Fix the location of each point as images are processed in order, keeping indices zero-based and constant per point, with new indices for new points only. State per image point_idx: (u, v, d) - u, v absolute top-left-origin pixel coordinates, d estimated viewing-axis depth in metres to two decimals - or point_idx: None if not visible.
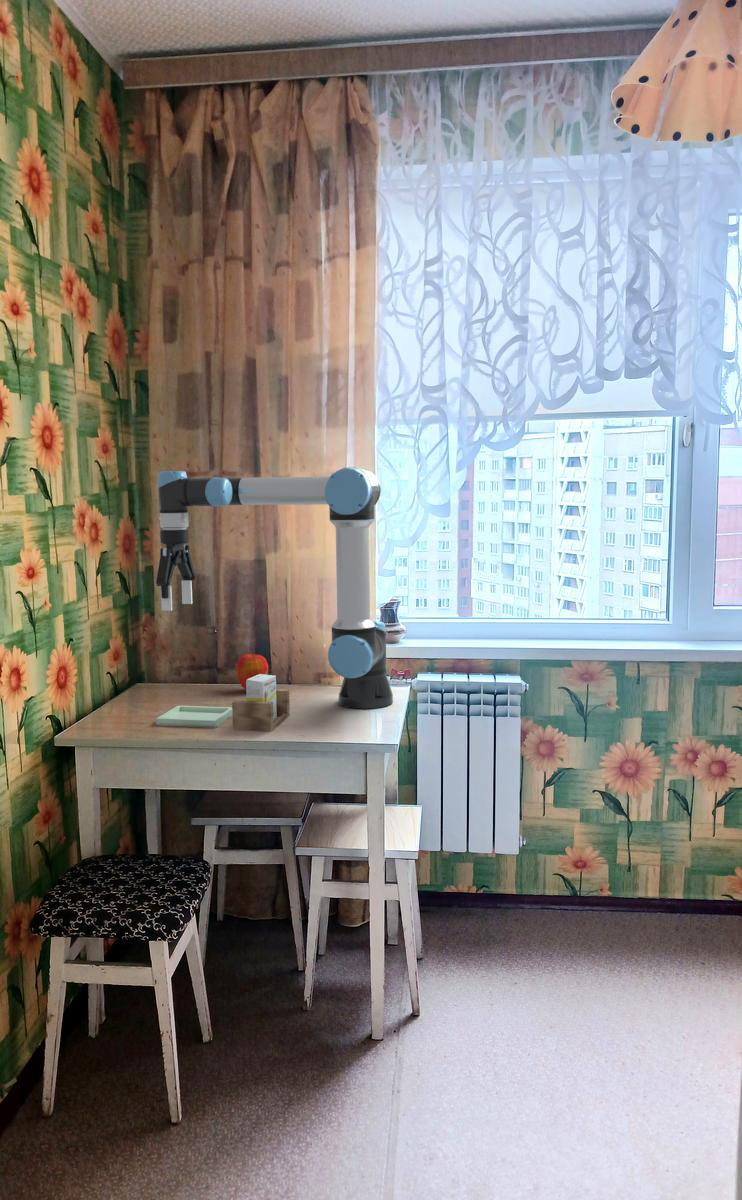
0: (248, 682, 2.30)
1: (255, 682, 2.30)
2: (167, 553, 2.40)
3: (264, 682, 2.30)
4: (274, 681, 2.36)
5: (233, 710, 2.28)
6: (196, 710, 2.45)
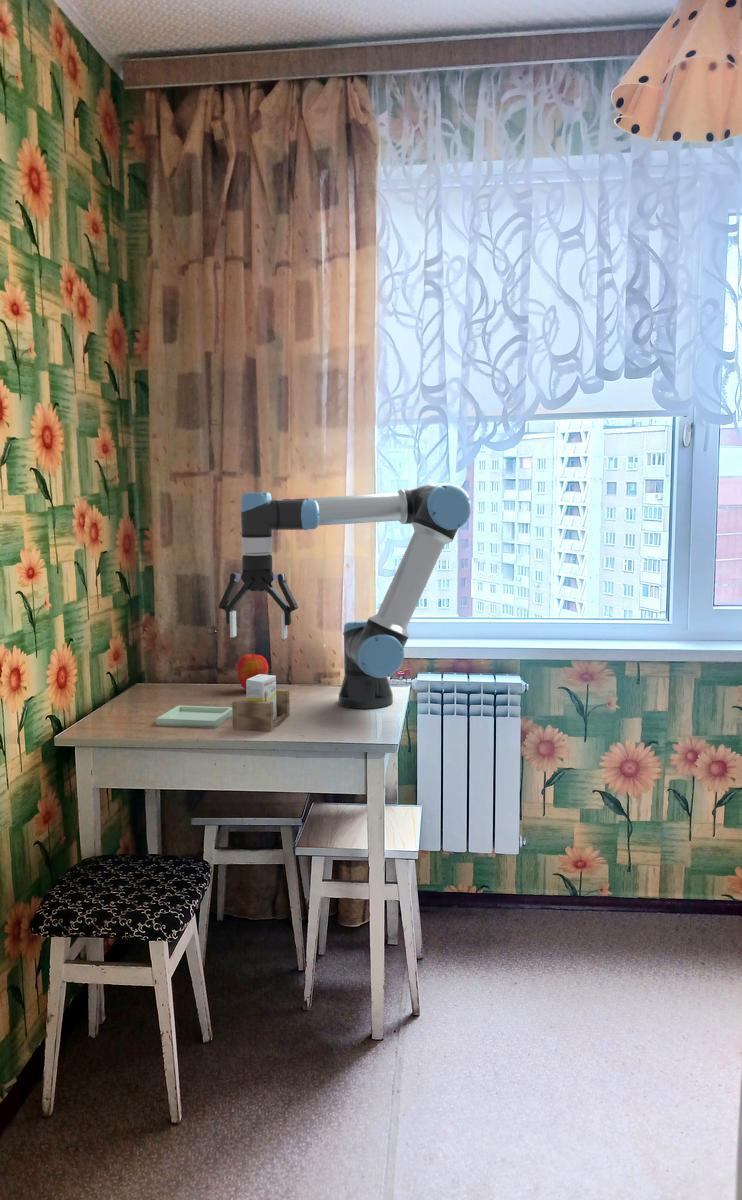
0: (248, 682, 2.30)
1: (255, 682, 2.30)
2: None
3: (264, 682, 2.30)
4: (274, 681, 2.36)
5: (233, 710, 2.28)
6: (196, 710, 2.45)
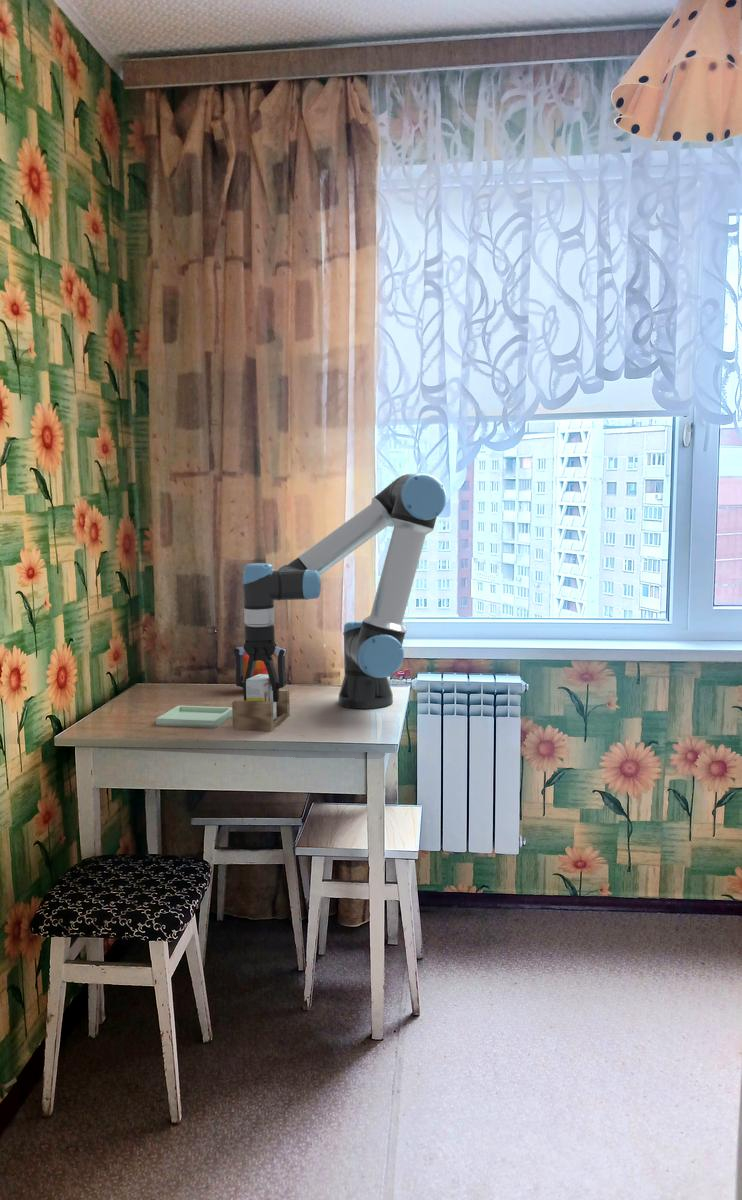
0: (248, 682, 2.30)
1: (255, 682, 2.30)
2: None
3: (264, 682, 2.30)
4: None
5: (233, 710, 2.28)
6: (196, 710, 2.45)
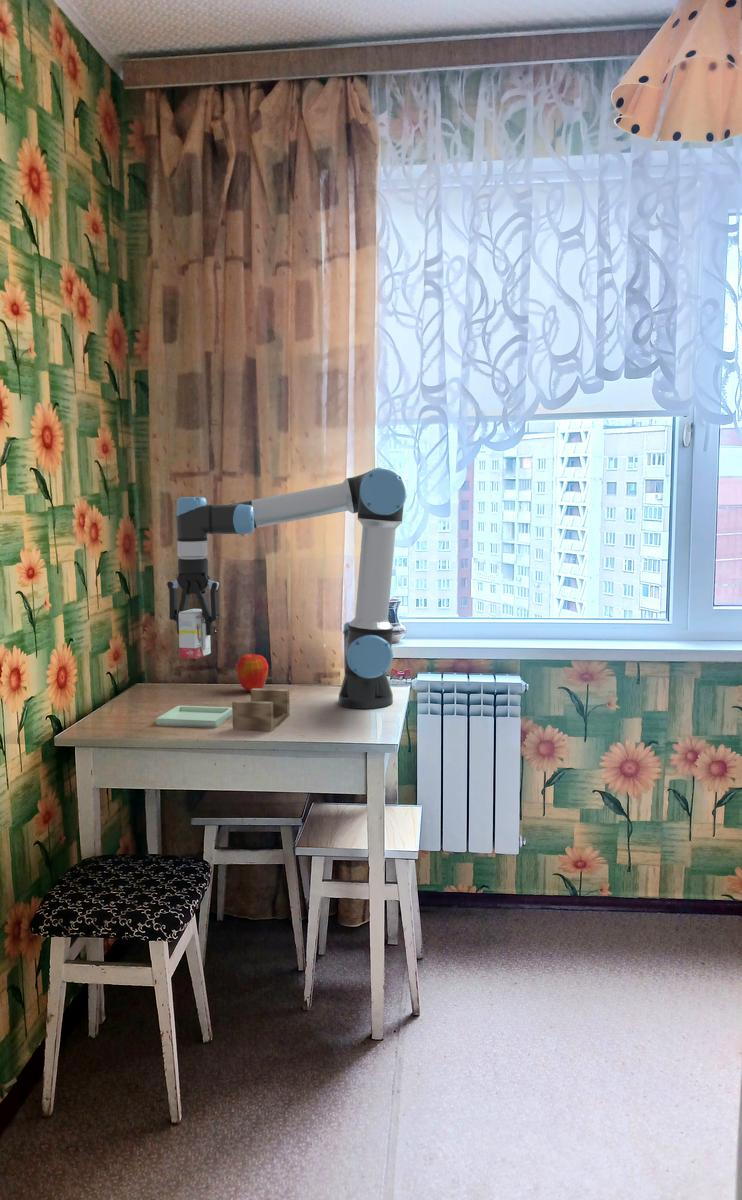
0: (180, 614, 2.32)
1: (187, 614, 2.31)
2: None
3: (196, 614, 2.32)
4: None
5: (233, 710, 2.28)
6: (196, 710, 2.45)
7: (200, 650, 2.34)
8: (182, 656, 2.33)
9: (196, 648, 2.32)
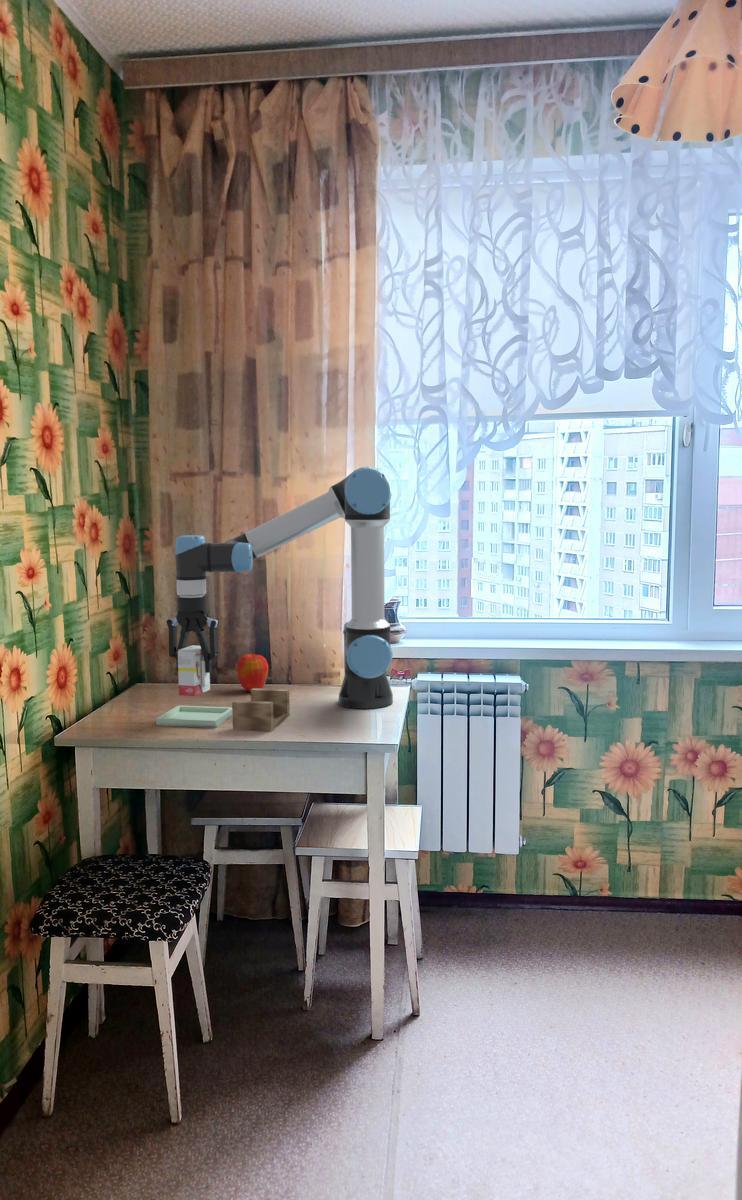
0: (179, 652, 2.33)
1: (186, 652, 2.33)
2: None
3: (195, 652, 2.33)
4: None
5: (233, 710, 2.28)
6: (196, 710, 2.45)
7: (199, 687, 2.35)
8: (181, 693, 2.34)
9: (195, 686, 2.33)
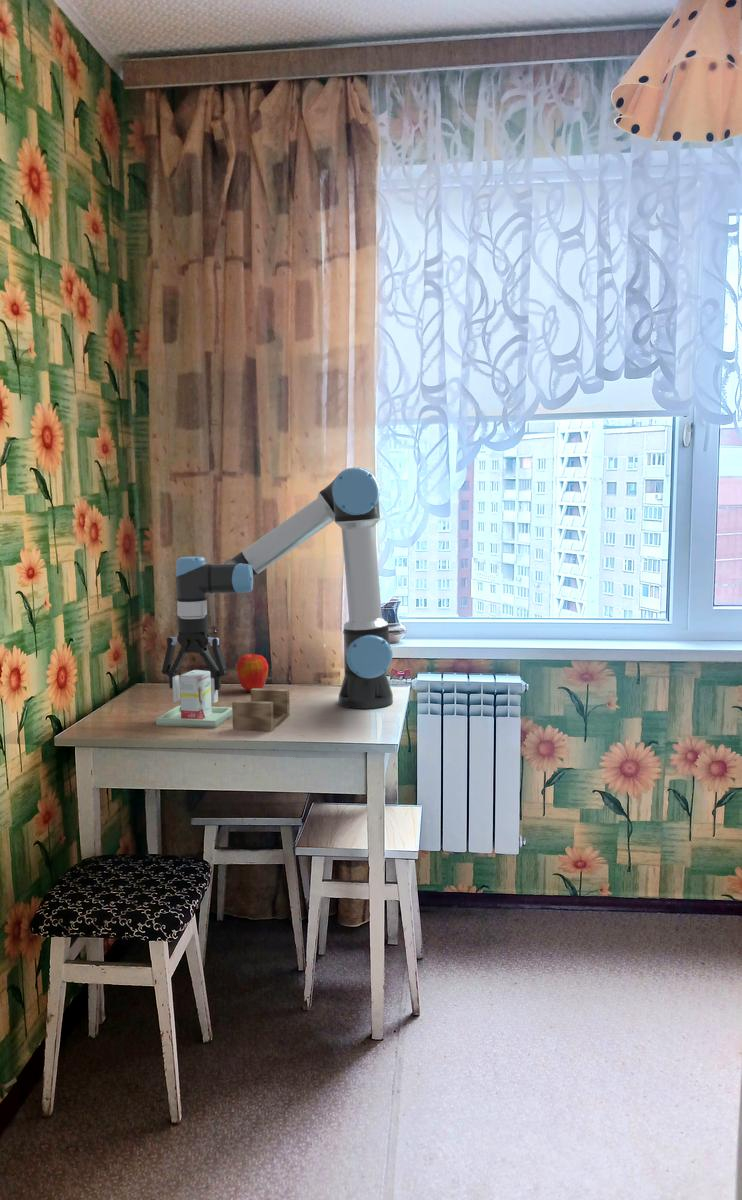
0: (182, 678, 2.34)
1: (189, 677, 2.33)
2: None
3: (198, 677, 2.34)
4: (208, 676, 2.39)
5: (233, 710, 2.28)
6: None
7: (202, 712, 2.36)
8: None
9: (198, 711, 2.34)
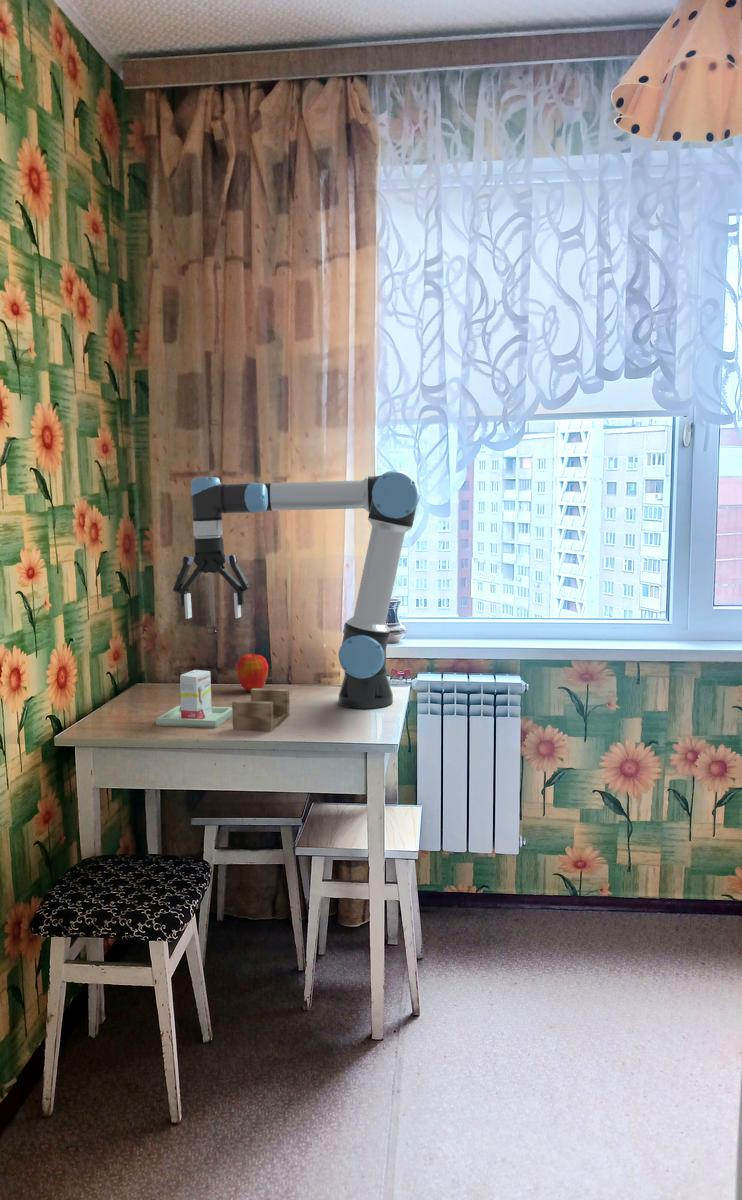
0: (182, 678, 2.34)
1: (189, 677, 2.33)
2: None
3: (198, 677, 2.34)
4: (208, 676, 2.39)
5: (233, 710, 2.28)
6: None
7: (202, 712, 2.36)
8: None
9: (198, 711, 2.34)
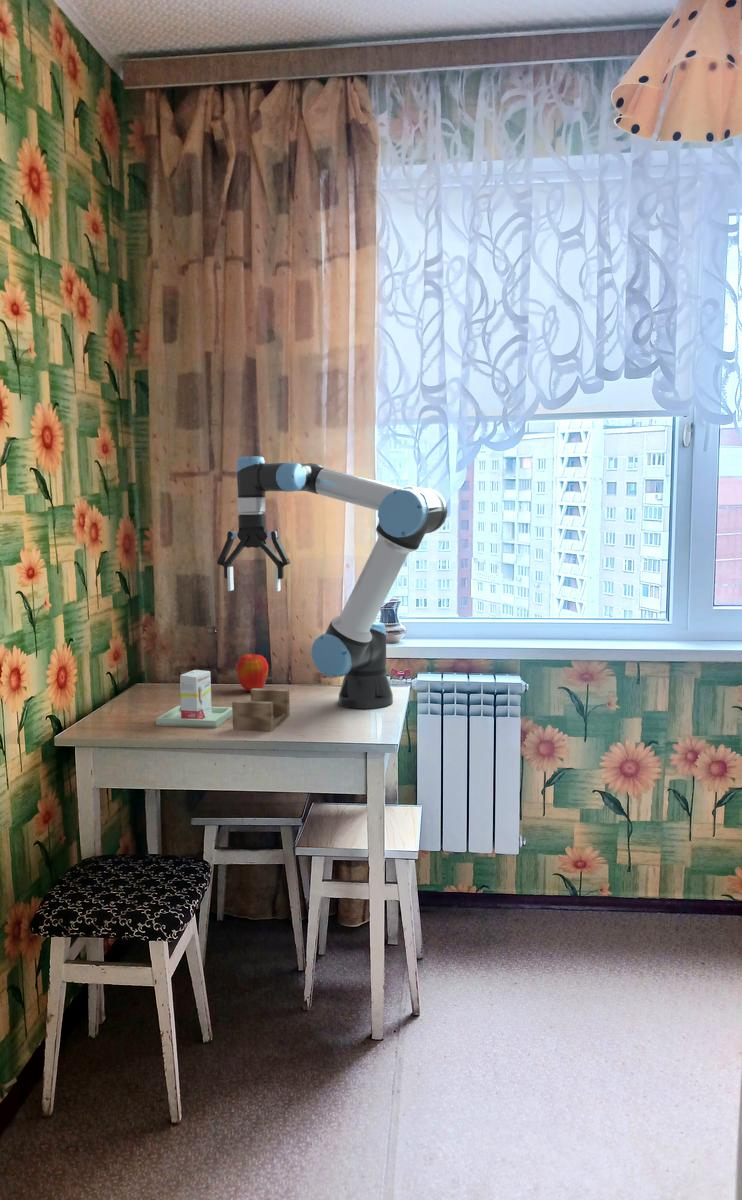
0: (182, 678, 2.34)
1: (189, 677, 2.33)
2: None
3: (198, 677, 2.34)
4: (208, 676, 2.39)
5: (233, 710, 2.28)
6: None
7: (202, 712, 2.36)
8: None
9: (198, 711, 2.34)
